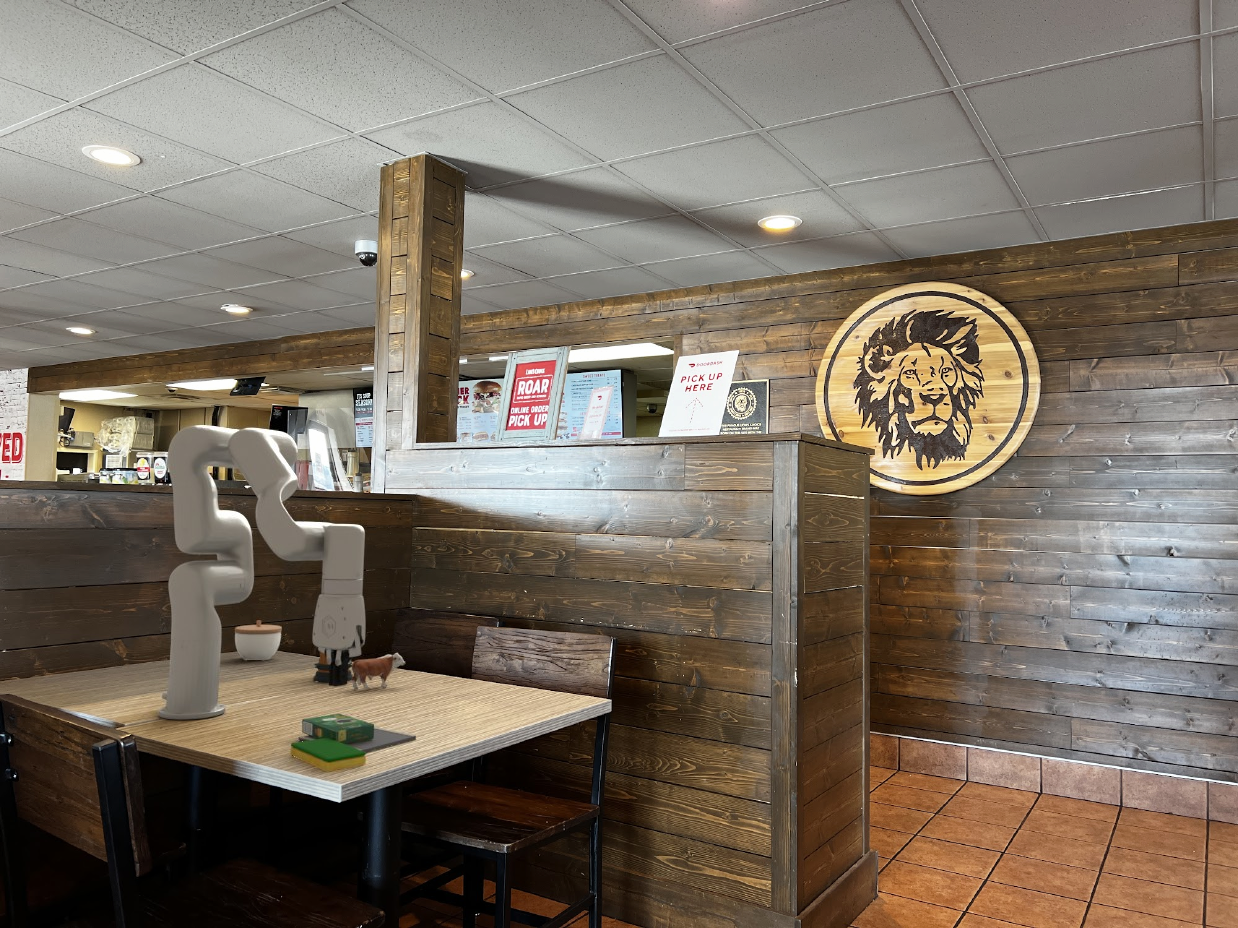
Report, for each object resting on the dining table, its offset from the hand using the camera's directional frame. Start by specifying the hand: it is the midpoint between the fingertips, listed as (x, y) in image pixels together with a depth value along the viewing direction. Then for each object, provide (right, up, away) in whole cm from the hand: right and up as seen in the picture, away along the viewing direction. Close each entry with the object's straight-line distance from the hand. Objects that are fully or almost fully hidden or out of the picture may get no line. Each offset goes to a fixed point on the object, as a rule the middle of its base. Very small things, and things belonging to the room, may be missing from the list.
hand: (337, 684), depth 169 cm
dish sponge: (+3, -9, -17) cm, 19 cm away
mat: (+5, -10, -3) cm, 11 cm away
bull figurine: (-6, -13, +49) cm, 51 cm away
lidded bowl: (-51, -15, +87) cm, 102 cm away
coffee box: (-4, -8, +1) cm, 9 cm away
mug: (-21, -13, +59) cm, 64 cm away
